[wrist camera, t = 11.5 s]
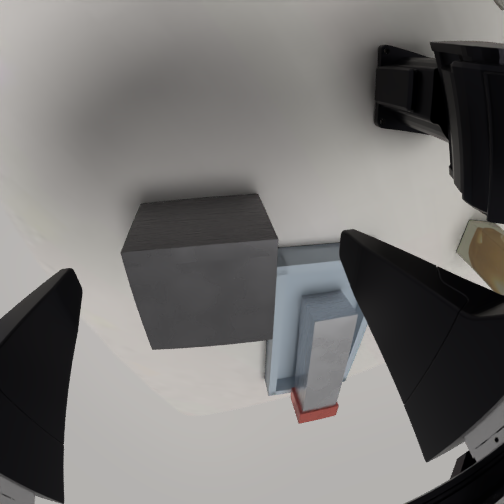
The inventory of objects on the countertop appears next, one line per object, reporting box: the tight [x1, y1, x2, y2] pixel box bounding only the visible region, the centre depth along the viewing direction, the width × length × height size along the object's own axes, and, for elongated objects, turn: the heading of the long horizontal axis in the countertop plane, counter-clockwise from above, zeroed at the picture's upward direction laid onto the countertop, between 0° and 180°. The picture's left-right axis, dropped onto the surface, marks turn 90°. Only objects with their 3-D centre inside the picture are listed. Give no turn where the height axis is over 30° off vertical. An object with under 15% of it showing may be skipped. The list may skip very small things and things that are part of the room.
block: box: [121, 194, 278, 350], centre depth 20 cm, size 8×8×6 cm
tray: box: [265, 243, 368, 396], centre depth 28 cm, size 10×19×2 cm, turn 0°
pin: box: [291, 290, 358, 423], centre depth 28 cm, size 4×15×4 cm, turn 1°
